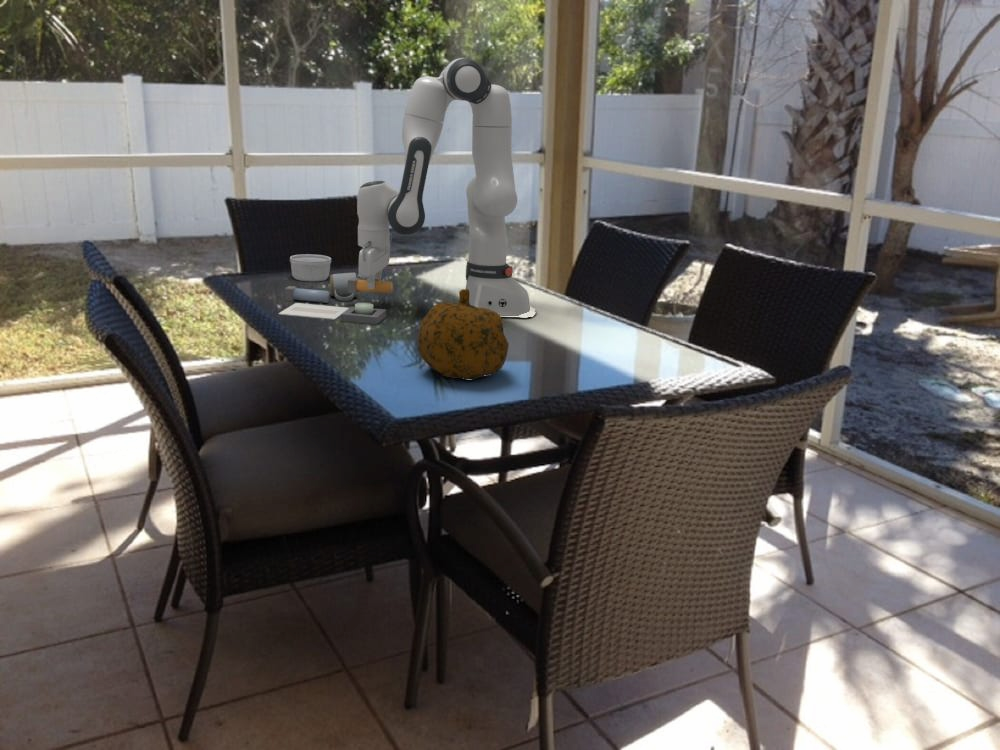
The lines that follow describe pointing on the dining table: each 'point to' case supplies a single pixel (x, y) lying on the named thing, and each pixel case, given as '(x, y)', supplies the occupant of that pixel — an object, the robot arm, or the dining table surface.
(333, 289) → the ceramic mug
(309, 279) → the ramekin
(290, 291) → the marker blue
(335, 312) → the paper
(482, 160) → the robot arm
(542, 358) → the dining table surface
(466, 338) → the decorative pumpkin
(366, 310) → the button
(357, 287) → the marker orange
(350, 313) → the button base
